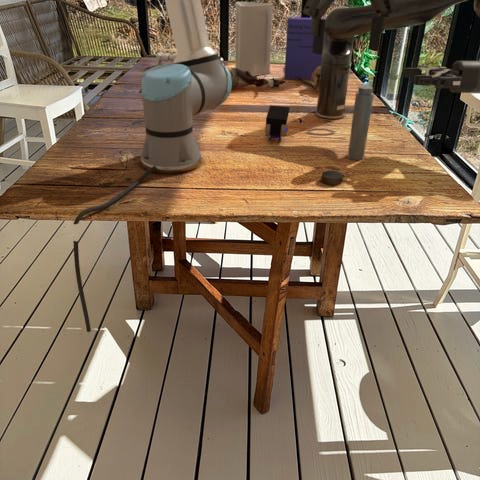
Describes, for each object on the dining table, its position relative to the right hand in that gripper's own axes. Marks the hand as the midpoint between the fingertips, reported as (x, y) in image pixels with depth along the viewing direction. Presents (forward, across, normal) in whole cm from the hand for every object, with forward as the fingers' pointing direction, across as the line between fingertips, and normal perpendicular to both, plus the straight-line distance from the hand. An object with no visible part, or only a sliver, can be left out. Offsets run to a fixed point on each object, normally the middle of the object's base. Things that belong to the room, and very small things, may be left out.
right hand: (408, 76), depth 118 cm
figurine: (+37, +75, -21) cm, 86 cm away
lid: (+20, -16, -20) cm, 32 cm away
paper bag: (+33, +105, -21) cm, 112 cm away
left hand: (+20, -16, +8) cm, 27 cm away
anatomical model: (+7, +74, -21) cm, 77 cm away
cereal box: (+11, +93, -21) cm, 96 cm away
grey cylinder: (+10, 0, -21) cm, 23 cm away
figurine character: (+30, +16, -21) cm, 40 cm away
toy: (+63, +114, -21) cm, 132 cm away
